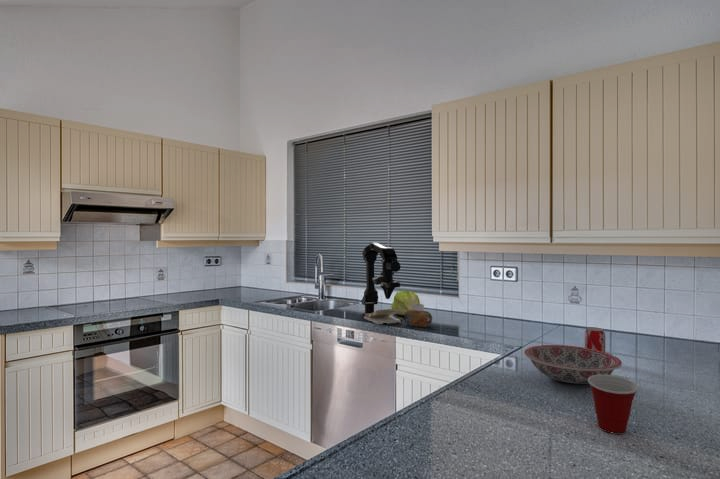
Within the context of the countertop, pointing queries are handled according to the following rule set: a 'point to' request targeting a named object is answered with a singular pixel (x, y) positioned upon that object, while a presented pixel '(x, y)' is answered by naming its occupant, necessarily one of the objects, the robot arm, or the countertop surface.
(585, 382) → the ceramic bowl
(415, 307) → the drinking glass
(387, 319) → the underlay board
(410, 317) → the brown rounded block
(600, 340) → the soda can
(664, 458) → the countertop surface
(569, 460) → the countertop surface
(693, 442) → the countertop surface
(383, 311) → the oak plank
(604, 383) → the plastic cup
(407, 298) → the lettuce
